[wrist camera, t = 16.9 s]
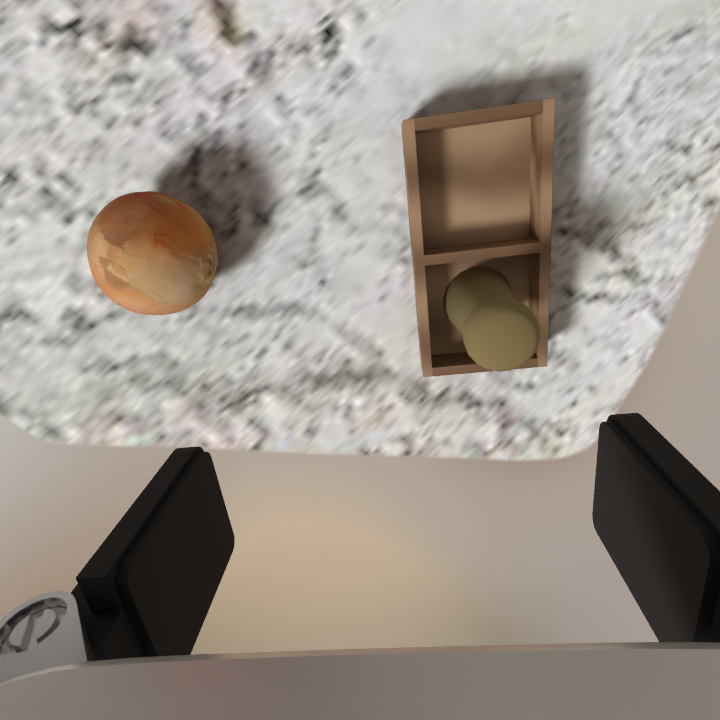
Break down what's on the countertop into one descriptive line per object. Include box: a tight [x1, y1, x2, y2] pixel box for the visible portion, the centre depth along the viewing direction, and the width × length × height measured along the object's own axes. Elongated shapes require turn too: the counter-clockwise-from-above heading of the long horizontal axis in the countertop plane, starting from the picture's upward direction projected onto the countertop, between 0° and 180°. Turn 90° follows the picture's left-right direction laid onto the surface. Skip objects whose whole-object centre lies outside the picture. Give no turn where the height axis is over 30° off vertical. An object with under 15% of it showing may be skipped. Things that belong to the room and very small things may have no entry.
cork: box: [443, 266, 540, 372], centre depth 36 cm, size 6×6×11 cm
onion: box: [87, 191, 218, 315], centre depth 37 cm, size 10×10×10 cm
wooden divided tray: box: [401, 98, 555, 377], centre depth 38 cm, size 20×11×4 cm, turn 7°
